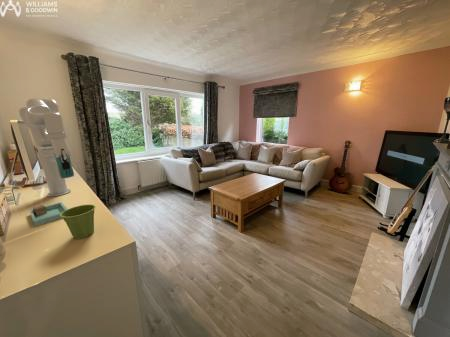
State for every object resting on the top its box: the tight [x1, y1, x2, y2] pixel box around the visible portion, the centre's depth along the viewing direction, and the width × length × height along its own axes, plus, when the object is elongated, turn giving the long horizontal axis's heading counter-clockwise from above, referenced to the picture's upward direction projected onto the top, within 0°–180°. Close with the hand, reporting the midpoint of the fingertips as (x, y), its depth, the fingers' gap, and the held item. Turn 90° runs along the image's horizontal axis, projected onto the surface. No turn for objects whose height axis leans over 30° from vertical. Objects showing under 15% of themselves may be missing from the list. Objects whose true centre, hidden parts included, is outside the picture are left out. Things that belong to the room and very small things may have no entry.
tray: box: [29, 201, 68, 227], centre depth 99 cm, size 19×13×3 cm
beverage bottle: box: [54, 152, 75, 179], centre depth 107 cm, size 6×7×20 cm
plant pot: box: [60, 204, 97, 240], centre depth 80 cm, size 12×12×11 cm
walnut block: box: [32, 204, 47, 216], centre depth 100 cm, size 4×4×4 cm
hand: (65, 167), depth 107 cm, fingers closed on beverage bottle, 6 cm apart
